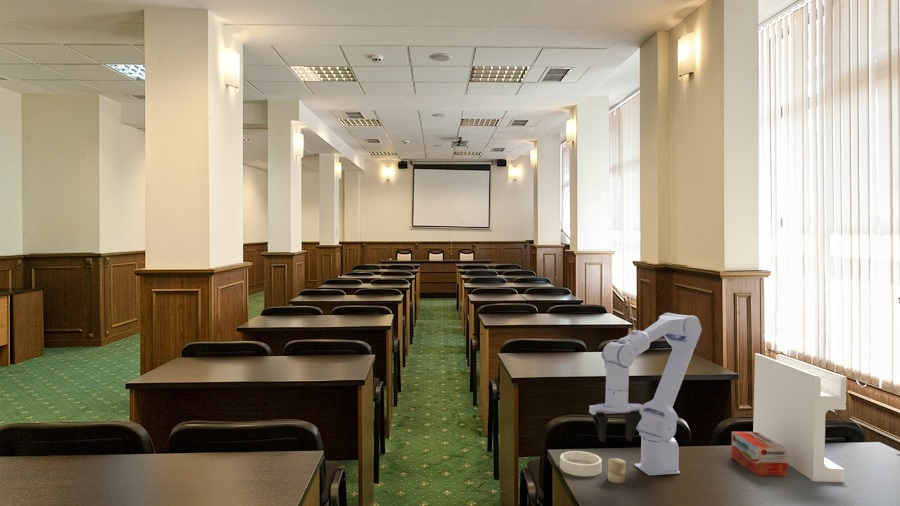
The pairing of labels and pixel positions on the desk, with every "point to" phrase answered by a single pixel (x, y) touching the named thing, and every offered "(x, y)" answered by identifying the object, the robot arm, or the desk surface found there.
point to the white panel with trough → (798, 411)
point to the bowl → (580, 463)
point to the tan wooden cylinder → (616, 470)
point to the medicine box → (759, 454)
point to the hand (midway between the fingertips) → (615, 440)
